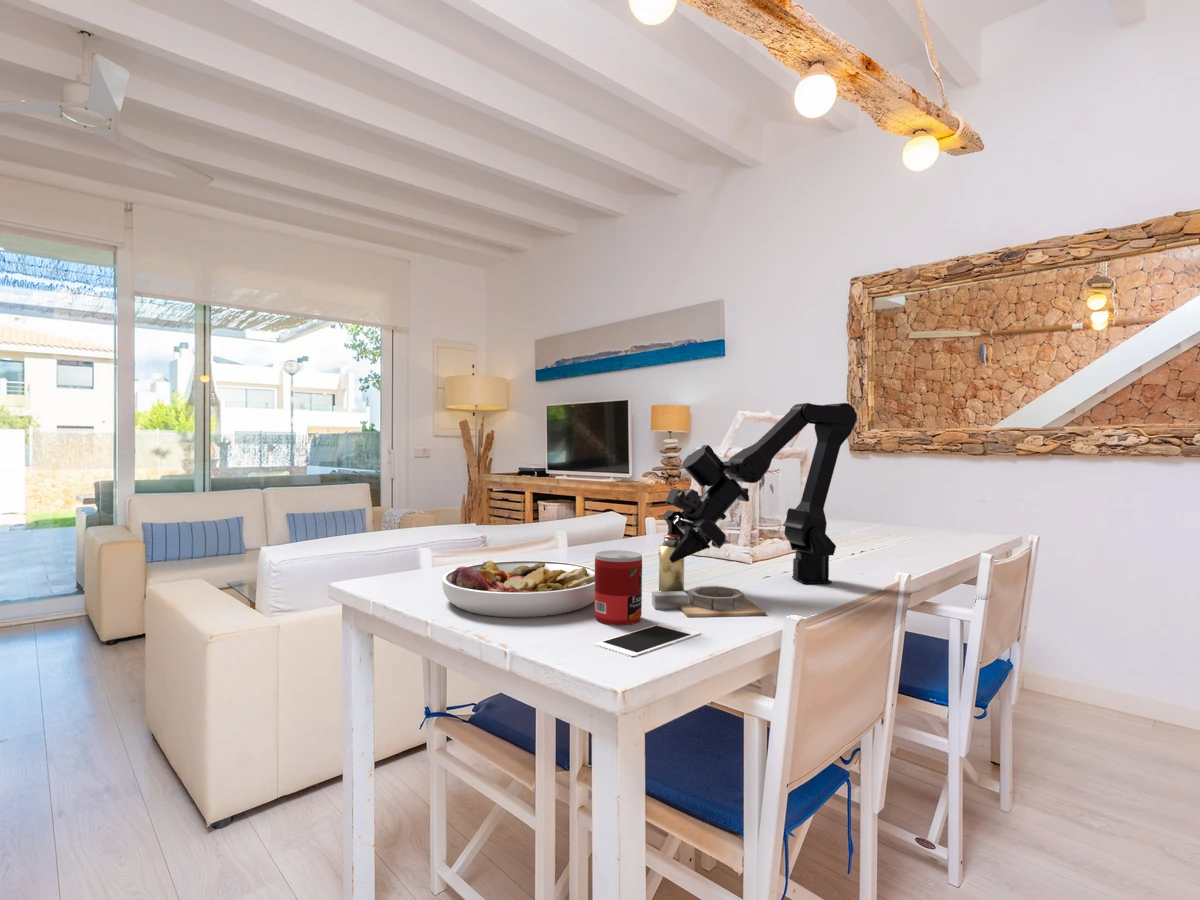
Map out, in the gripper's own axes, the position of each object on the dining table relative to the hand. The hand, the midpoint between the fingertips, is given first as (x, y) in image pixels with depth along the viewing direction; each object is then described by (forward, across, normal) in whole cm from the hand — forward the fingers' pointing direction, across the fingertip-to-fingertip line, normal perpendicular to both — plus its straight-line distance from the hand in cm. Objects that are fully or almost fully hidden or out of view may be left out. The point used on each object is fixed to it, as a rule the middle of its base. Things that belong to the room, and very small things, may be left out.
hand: (665, 558), depth 130 cm
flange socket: (+3, +13, +6) cm, 15 cm away
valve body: (+4, 0, +6) cm, 7 cm away
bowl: (+25, -1, -15) cm, 29 cm away
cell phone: (+16, +29, -6) cm, 33 cm away
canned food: (+16, +17, -6) cm, 24 cm away
